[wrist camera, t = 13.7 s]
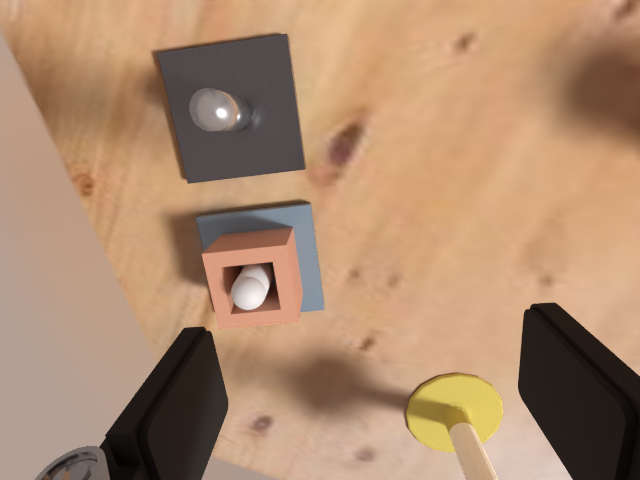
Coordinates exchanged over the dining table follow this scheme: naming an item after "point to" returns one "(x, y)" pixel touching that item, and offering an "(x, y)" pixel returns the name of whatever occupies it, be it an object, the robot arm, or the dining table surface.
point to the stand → (234, 108)
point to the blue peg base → (260, 276)
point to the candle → (457, 419)
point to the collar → (253, 249)
